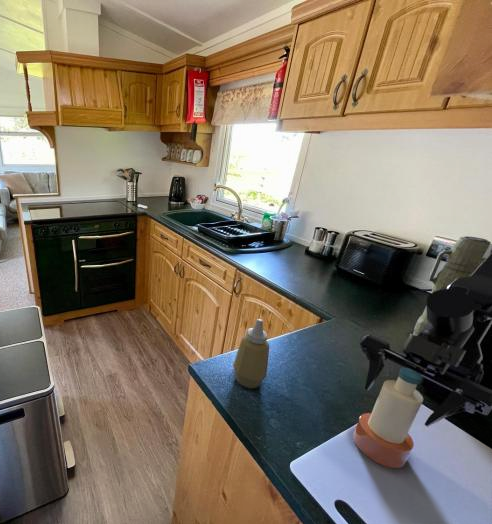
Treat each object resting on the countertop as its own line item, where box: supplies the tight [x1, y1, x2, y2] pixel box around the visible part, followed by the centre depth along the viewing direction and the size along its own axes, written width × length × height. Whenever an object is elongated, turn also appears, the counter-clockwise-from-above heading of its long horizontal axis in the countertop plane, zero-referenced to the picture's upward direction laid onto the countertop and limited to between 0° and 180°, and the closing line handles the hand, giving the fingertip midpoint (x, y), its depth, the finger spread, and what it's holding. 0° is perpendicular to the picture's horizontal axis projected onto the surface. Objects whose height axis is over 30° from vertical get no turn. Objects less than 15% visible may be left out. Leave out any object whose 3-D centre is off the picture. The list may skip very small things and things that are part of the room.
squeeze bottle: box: [232, 318, 270, 389], centre depth 71 cm, size 8×8×18 cm
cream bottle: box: [368, 367, 424, 444], centre depth 54 cm, size 6×6×14 cm
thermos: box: [411, 235, 492, 336], centre depth 89 cm, size 9×12×35 cm
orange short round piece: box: [352, 412, 415, 469], centre depth 57 cm, size 8×8×4 cm
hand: (394, 406), depth 53 cm, fingers open, 9 cm apart
